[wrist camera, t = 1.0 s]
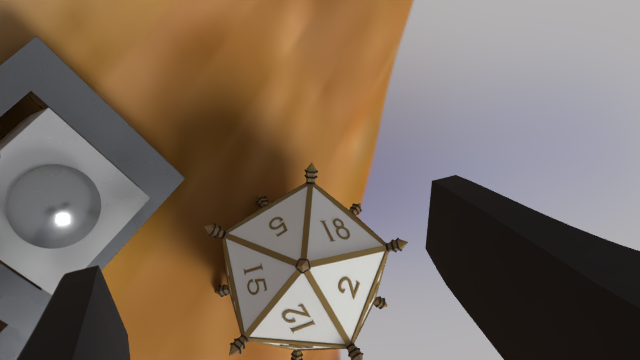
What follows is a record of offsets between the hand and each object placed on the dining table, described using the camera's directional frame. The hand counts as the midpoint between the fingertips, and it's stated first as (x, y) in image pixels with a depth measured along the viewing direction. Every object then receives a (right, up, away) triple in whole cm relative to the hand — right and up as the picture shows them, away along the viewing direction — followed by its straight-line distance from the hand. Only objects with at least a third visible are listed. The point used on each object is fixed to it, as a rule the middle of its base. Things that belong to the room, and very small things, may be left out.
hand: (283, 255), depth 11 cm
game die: (-2, -2, +15) cm, 15 cm away
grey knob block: (-11, +1, +9) cm, 14 cm away
